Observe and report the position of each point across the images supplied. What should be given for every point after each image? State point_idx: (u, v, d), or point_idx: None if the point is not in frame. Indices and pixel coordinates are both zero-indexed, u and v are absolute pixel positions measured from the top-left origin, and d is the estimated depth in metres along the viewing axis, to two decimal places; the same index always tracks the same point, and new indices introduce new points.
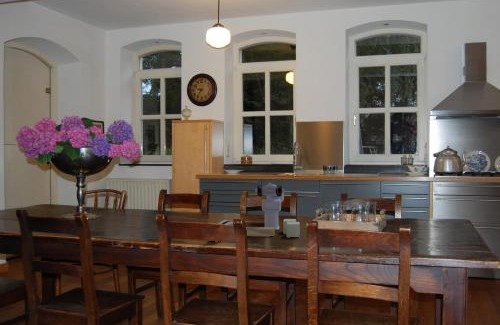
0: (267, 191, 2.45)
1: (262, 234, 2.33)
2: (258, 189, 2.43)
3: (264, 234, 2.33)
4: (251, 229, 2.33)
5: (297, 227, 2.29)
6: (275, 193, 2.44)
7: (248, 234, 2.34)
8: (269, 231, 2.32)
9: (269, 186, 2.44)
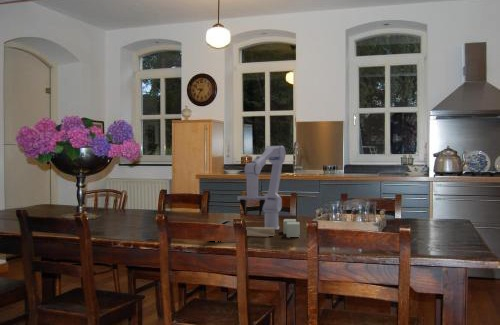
0: None
1: (262, 234, 2.33)
2: None
3: (264, 234, 2.33)
4: (251, 229, 2.33)
5: (297, 227, 2.29)
6: None
7: (248, 234, 2.34)
8: (269, 231, 2.32)
9: None
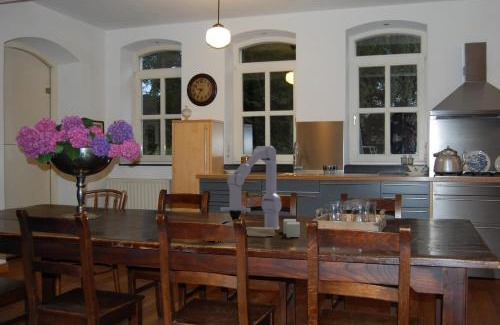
0: None
1: (262, 234, 2.33)
2: None
3: (264, 234, 2.32)
4: (251, 229, 2.34)
5: (297, 227, 2.29)
6: None
7: (248, 234, 2.34)
8: (269, 231, 2.32)
9: None
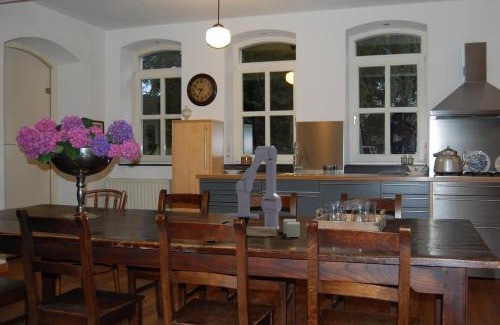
0: None
1: (263, 234, 2.33)
2: None
3: (265, 234, 2.32)
4: (252, 228, 2.34)
5: (297, 227, 2.29)
6: None
7: (249, 233, 2.34)
8: (271, 230, 2.32)
9: None
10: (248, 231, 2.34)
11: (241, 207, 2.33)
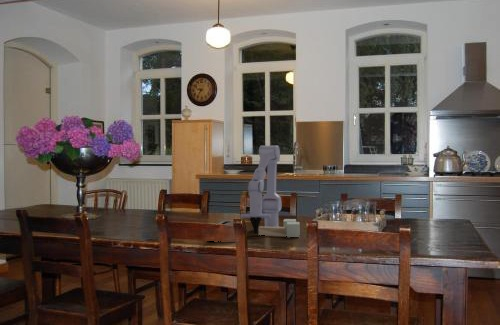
0: None
1: (275, 233, 2.33)
2: None
3: (277, 233, 2.32)
4: (264, 228, 2.33)
5: (297, 227, 2.29)
6: None
7: (261, 233, 2.33)
8: (283, 230, 2.32)
9: None
10: (260, 231, 2.33)
11: (253, 207, 2.32)
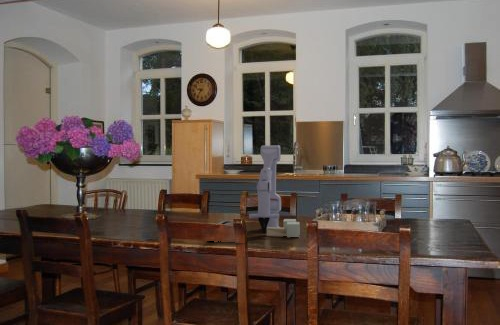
0: None
1: (284, 234, 2.32)
2: None
3: (286, 234, 2.32)
4: (273, 229, 2.33)
5: (297, 227, 2.29)
6: None
7: (270, 234, 2.33)
8: None
9: None
10: (268, 232, 2.33)
11: (261, 207, 2.32)
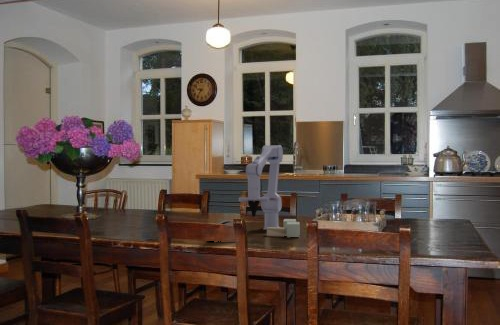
0: None
1: (284, 234, 2.32)
2: None
3: (286, 234, 2.32)
4: (273, 229, 2.33)
5: (297, 227, 2.29)
6: None
7: (270, 234, 2.33)
8: None
9: None
10: (268, 232, 2.33)
11: (251, 190, 2.32)
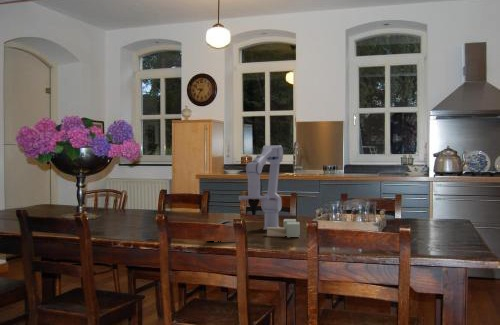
0: None
1: (284, 234, 2.32)
2: None
3: (286, 234, 2.32)
4: (273, 229, 2.33)
5: (297, 227, 2.29)
6: None
7: (270, 234, 2.33)
8: None
9: None
10: (269, 232, 2.33)
11: (251, 189, 2.32)
